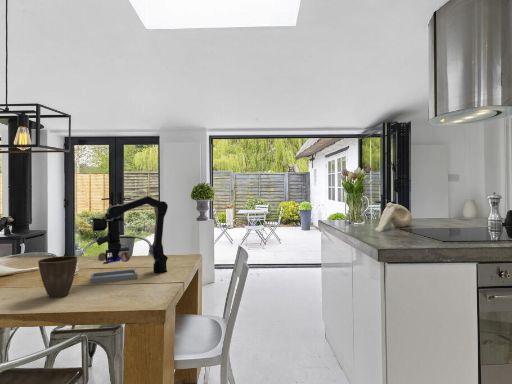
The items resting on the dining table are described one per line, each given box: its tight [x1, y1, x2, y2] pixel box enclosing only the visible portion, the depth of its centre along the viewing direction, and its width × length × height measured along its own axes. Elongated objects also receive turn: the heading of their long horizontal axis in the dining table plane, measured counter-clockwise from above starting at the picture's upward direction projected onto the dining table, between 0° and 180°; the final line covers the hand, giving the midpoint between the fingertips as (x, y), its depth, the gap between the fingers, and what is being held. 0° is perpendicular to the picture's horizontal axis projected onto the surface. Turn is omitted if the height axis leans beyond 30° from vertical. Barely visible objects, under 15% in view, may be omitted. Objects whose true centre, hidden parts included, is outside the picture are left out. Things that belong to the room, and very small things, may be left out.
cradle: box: [90, 268, 139, 285], centre depth 175 cm, size 22×13×2 cm, turn 114°
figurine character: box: [97, 246, 131, 265], centre depth 175 cm, size 7×8×15 cm
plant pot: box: [37, 255, 78, 299], centre depth 147 cm, size 15×15×16 cm
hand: (114, 259), depth 175 cm, fingers closed on figurine character, 7 cm apart
